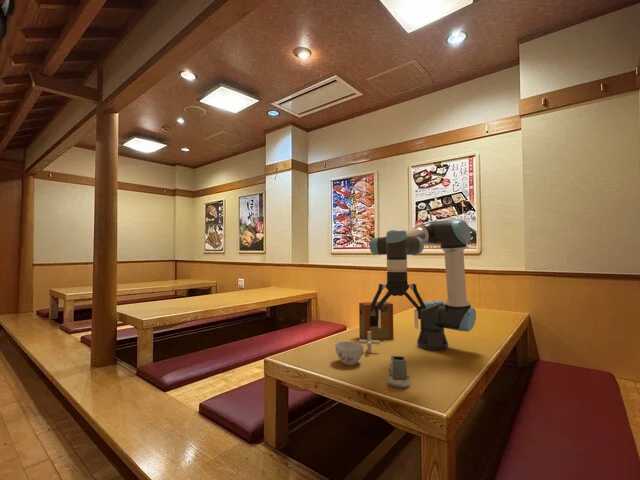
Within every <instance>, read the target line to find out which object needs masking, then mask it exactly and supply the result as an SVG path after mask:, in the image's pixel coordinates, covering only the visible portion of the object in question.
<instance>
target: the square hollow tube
mask: <svg viewBox="0 0 640 480" xmlns="http://www.w3.org/2000/svg"><path fill="white" fill-rule="evenodd" d="M390 364H391V371H390V374H391V375H392V379H393V380H407V376H408V372H407V371H408V370H407V369H408V368H407V365H408V364H407V359H406V357H405V356H404V355H402V356H401V355H391V356H390Z"/></svg>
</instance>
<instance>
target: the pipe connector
mask: <svg viewBox="0 0 640 480" xmlns="http://www.w3.org/2000/svg"><path fill="white" fill-rule="evenodd" d="M367 335H368V340H362V339H358V343H359V344H364V345H365V344H366V346H367V353H368V354H371V353H372V345H380V344H381V341H379V340H372V339H371V331H368V332H367Z"/></svg>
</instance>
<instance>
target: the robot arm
mask: <svg viewBox="0 0 640 480" xmlns="http://www.w3.org/2000/svg"><path fill="white" fill-rule="evenodd" d="M471 236H472V235H471V229H470V226H469V224H468V223H467V222H466V220H464V219H447V220H445V219H444V220H437V221H436V220H434V221H430V222H426V223H423V224H419V225H416V226H414V227H413V228H412V229H409V230H404V229H395V230H394V229H392V230H391V229H390V230H387V232H386V235H385V236H380V237H373V238H371V240H370V241H369V251H370V252H371V253H372V254H373V255H377V256H386V270H387V272H386V283H385V284H382V283H378V289H377V291H376V293H375V295H374V297H373V299H372V301H371V302H372V303H371V305H370V307H371V308H372V309H375V317H376V319H378V327H379V328H381V310H380V309H379V308H380V307H381V306H382V305H383V304H384V303H385V302H387V300H388V299H389V298H390V297H391V296H393V297H397V296H399V297H403V296H405V298H407V300H408V301H409V302H410V303H411V304H412V305H413V306H414V308H415V309H414V311H413V313H414V328H415V329H416V330H417V329H418V330H419V324H420V331H419V334H418V337H417V340H416V343H417V344H416V346H417V347H419V348H421V349H424V350H429V351H444V350H447V349H449V342H448V339H447V337H446V334H445V329H446V330H447V329H448V330H454V331H459V332H466V333H467V332H468V333H469V332H471V330H473V329H474V326H475V324H476V319H477V312H476V309H475V308H474V307H472V306H471V302H470V301H469V299H468V298H467V285H466V272H465V271H466V269H465V257H464V256H465V255H464V251H465V249H466V248H467V244H469V243H470V242H471V238H472V237H471ZM425 245H440V250H442V251H443V252H444V264H445V265H444V266H445V277H446V278H445V280H446V292H447V294H446V295H447V299H446V301H445V302H444V301H443V300H428V301H423V299H422V297H421V295H420V293H419V292H418V291H419V290H418V288H417V283H411V284H408V272H407V270H408V256H416V255H420V254H421V253H423V251H424V249H425ZM385 288H386V289H387V292H386V293H385V294H384V296H383V297H382V298H381V299H380V301H378V300H379V298H380V296H381V294H382V292H383V290H384V289H385ZM409 289H410V290H411V291H413V294H414V295H415V298H416V299H417V302H418V303H419V304H418V303H417V302H416V301H415V300H414V298H413V297H412V296H411V295H410V294H409V293H408V292H407V291H408V290H409ZM376 302H379V303H378V304H377V305H376V306H375V304H376ZM419 321H420V323H419Z"/></svg>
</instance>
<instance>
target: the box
mask: <svg viewBox="0 0 640 480" xmlns="http://www.w3.org/2000/svg"><path fill="white" fill-rule="evenodd" d="M379 302H380V301H377V302H376V304H375V306H376V305H377V304H378V303H379ZM371 303H372V301H369V302H368V301H367V302H365V301H364V302H359V303H358V304H359V307H358V316H359V318H358V321H359V324H358V325H359V327H358V329H359V333H358V335H359V339H360V340H368V335H367V332H368V331H371V339H372V340H379V341H380V342H382V341H383V342H384V340H386V341H394V303H392V302H389V301H385V303H384V304H383V305H382V306H381V307H380V308H379V309H380V310H381V328H379V327H378V319H376V317H375V309H372V308H371V307H370V305H371Z"/></svg>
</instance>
